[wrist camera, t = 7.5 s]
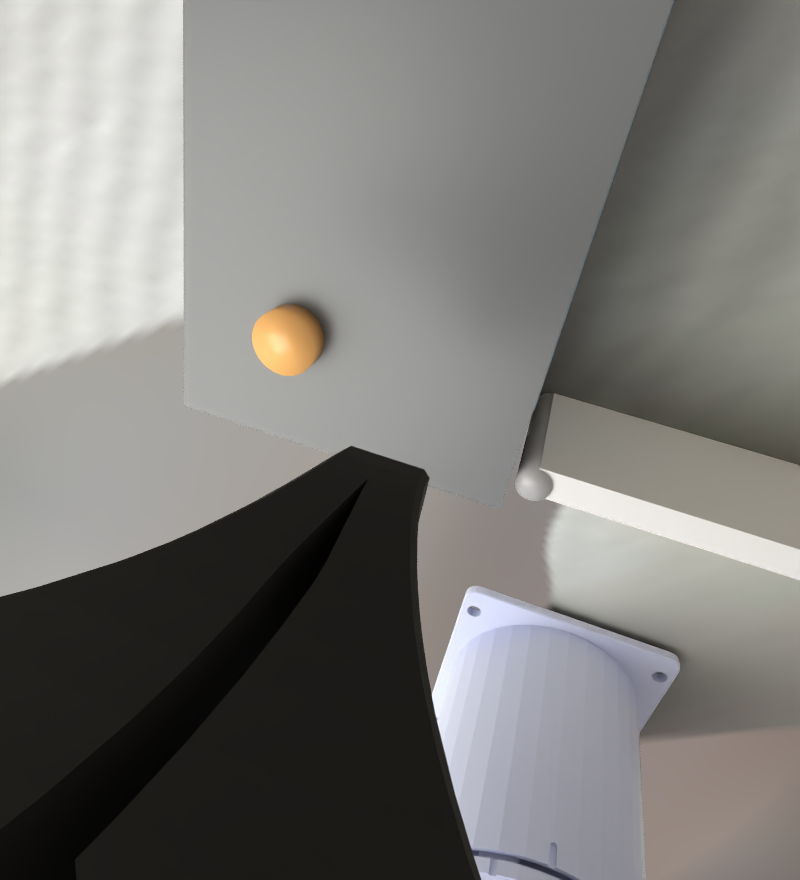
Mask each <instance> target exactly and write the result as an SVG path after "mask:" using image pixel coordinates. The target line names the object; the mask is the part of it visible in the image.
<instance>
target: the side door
mask: <svg viewBox="0 0 800 880" xmlns="http://www.w3.org/2000/svg"><path fill="white" fill-rule="evenodd" d="M515 486H516V489H517V491H518V493H519V494H520V495H521V496H522V497H524V498H525V499H528V500H532V501H539V500H543V499H548V500H551V501H554V502H557V503H560V504H563V505H566V506H569V507H573V508H576V509H579V510H582V511H585V512H588V513H591V514H594V515H598V516H601V517H604V518H607V519H610V520H613V521H616V522H619V523H622V524H626V525H629V526H632V527H635V528H638V529H641V530H644V531H647V532H651V533H654V534H657V535H660V536H663V537H666V538H669V539H672V540H675V541H679V542H682V543H685V544H688V545H691V546H694V547H697V548H700V549H704V550H707V551H710V552H713V553H716V554H719V555H722V556H725V557H728V558H732V559H735V560H738V561H741V562H744V563H747V564H750V565H753V566H757V567H760V568H763V569H766V570H769V571H772V572H775V573H778V574H781V575H785V576H788V577H791V578H794V579H797V580H800V465H797V464H793V463H790V462H787V461H783V460H780V459H776V458H773V457H770V456H766V455H763V454H759V453H756V452H753V451H749V450H746V449H742V448H739V447H736V446H732V445H729V444H725V443H722V442H719V441H715V440H712V439H708V438H705V437H702V436H698V435H695V434H691V433H688V432H685V431H681V430H678V429H674V428H671V427H668V426H664V425H661V424H657V423H654V422H651V421H647V420H644V419H640V418H637V417H634V416H630V415H627V414H623V413H620V412H616V411H613V410H610V409H606V408H603V407H599V406H596V405H593V404H589V403H586V402H582V401H579V400H576V399H572V398H569V397H565V396H562V395H559V394H555V393H554V394H552V393H546V394H542V395H540V396H539V399H538V402H537V405H536V407H535V410H533V413H532V416H531V420H530V424H529V428H528V432H527V437H526V441H525V445H524V449H523V453H522V458H521V461H520V465H519V470H518V473H517V478H516V482H515Z"/></svg>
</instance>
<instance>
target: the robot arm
mask: <svg viewBox="0 0 800 880" xmlns="http://www.w3.org/2000/svg"><path fill="white" fill-rule="evenodd" d="M429 479H430V478H429V476H428V474H427V473H426V471H425V469H422V468H419V467H416V466H412V465H409V464H406V463H403V462H400V461H397V460H394V459H391V458H388V457H384V456H381V455H378V454H375V453H372V452H369V451H366V450H363V449H360V448H356V447H353V446H350V447H348V448H346V449H344V450H342V451H340V452H339V453H337V454H335V455H334V456H332V457H330V458H329V459H327V460H325V461H324V462H322V463H320V464H319V465H317V466H316V467H314V468H312V469H311V470H309V471H307V472H306V473H304V474H302V475H300V476H299V477H297V478H295V479H294V480H292V481H290V482H289V483H287V484H285V485H283V486H282V487H280V488H278V489H276V490H274V491H273V492H271V493H269V494H267V495H265V496H264V497H262V498H260V499H258V500H257V501H255V502H253V503H251V504H249V505H247V506H245V507H243V508H241V509H239V510H237V511H236V512H233V513H231V514H229V515H227V516H225V517H223V518H221V519H219V520H217V521H215V522H213V523H211V524H209V525H207V526H204V527H203V528H200V529H198V530H196V531H194V532H192V533H189V534H187V535H185V536H183V537H180V538H178V539H176V540H174V541H171V542H169V543H166V544H164V545H161V546H158V547H156V548H153V549H151V550H148V551H145V552H143V553H140V554H138V555H135V556H133V557H130V558H127V559H124V560H122V561H118V562H116V563H113V564H109V565H106V566H103V567H100V568H97V569H93V570H90V571H87V572H84V573H81V574H78V575H75V576H72V577H68V578H65V579H62V580H59V581H56V582H52V583H49V584H46V585H43V586H40V587H36V588H33V589H29V590H25V591H21V592H17V593H13V594H10V595H6V596H2V597H0V880H646V879H645V856H644V834H643V811H642V788H641V766H640V742H639V733H640V732H641V730H642V729H643V727H644V725H645V724H646V722H647V721H648V719H649V718H650V716H651V715H652V713H653V712H654V710H655V709H656V707H657V706H658V704H659V702H660V701H661V699H662V698H663V696H664V695H665V693H666V692H667V690H668V689H669V687H670V686H671V684H672V683H673V681H674V680H675V678H676V676H677V675H678V673H679V671H680V662H679V659H678V657H677V656H676V655H675V654H673V653H671V652H669V651H666V650H663V649H660V648H657V647H654V646H651V645H648V644H646V643H643V642H640V641H637V640H634V639H631V638H628V637H625V636H623V635H620V634H617V633H614V632H611V631H608V630H605V629H602V628H600V627H597V626H594V625H591V624H588V623H585V622H582V621H579V620H577V619H574V618H571V617H568V616H565V615H562V614H559V613H557V612H554V611H551V610H548V609H545V608H542V607H539V606H536V605H533V604H531V603H527V602H524V601H522V600H519V599H516V598H513V597H510V596H508V595H505V594H502V593H499V592H496V591H493V590H490V589H487V588H485V587H481V586H472V587H470V588H469V589H468V590H467V591H466V594H465V597H464V600H463V603H462V606H461V609H460V612H459V615H458V618H457V621H456V624H455V627H454V630H453V633H452V636H451V639H450V642H449V645H448V648H447V651H446V654H445V657H444V660H443V663H442V666H441V669H440V672H439V675H438V678H437V681H436V684H435V687H434V690H433V693H432V694H431V689H430V683H429V679H428V672H427V666H426V659H425V653H424V646H423V639H422V631H421V622H420V612H419V598H418V581H417V534H418V522H419V518H420V514H421V510H422V506H423V502H424V498H425V494H426V490H427V486H428V482H429ZM471 606H476V607H478V608H479V609H478V610H477V609H473V608H472V607H471ZM655 672H662V673H663V674H657V673H655Z"/></svg>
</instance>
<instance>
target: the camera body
mask: <svg viewBox="0 0 800 880" xmlns="http://www.w3.org/2000/svg"><path fill="white" fill-rule="evenodd" d="M674 1H675V0H183V135H184V406H185V407H188V408H191V409H195V410H197V411H200V412H203V413H207V414H209V415H213V416H216V417H219V418H222V419H225V420H228V421H231V422H234V423H237V424H240V425H243V426H246V427H249V428H253V429H256V430H259V431H262V432H265V433H268V434H271V435H274V436H277V437H280V438H283V439H286V440H289V441H292V442H295V443H298V444H301V445H305V446H308V447H311V448H313V449H316V450H320V451H323V452H326V453H329V454H332V455H335V454H337V453H339V452H340V451H342V450H344V449H346V448H348V447H350V446H353V447H356V448H360V449H363V450H366V451H369V452H372V453H375V454H378V455H381V456H384V457H388V458H391V459H394V460H397V461H400V462H403V463H406V464H409V465H412V466H416V467H419V468H422V469H425V471H426V473H427V474H428V476H429V478H430V479H429V482H428V486H430V487H433V488H436V489H439V490H442V491H445V492H448V493H451V494H454V495H457V496H460V497H463V498H466V499H469V500H473V501H476V502H479V503H482V504H485V505H488V506H491V507H494V508H497V509H500V507H501V504H502V501H503V498H504V495H505V492H506V489H507V486H508V483H509V480H510V478H511V475H512V471H513V469H514V466H515V463H516V460H517V457H518V454H519V451H520V448H521V445H522V442H523V439H524V436H525V434H526V431H527V428H528V425H529V422H530V419H531V416H532V413H533V410H535V407H536V405H537V402H538V399H539V396H540V393H541V390H542V387H543V384H544V381H545V378H546V375H547V372H548V369H549V367H550V364H551V361H552V358H553V355H554V352H555V349H556V346H557V343H558V340H559V337H560V334H561V331H562V329H563V326H564V323H565V320H566V317H567V314H568V311H569V308H570V305H571V302H572V299H573V296H574V294H575V291H576V288H577V285H578V282H579V279H580V276H581V273H582V270H583V267H584V264H585V261H586V258H587V256H588V253H589V250H590V247H591V244H592V241H593V238H594V235H595V232H596V229H597V226H598V223H599V220H600V218H601V215H602V212H603V209H604V206H605V203H606V200H607V197H608V194H609V191H610V188H611V185H612V182H613V180H614V177H615V174H616V171H617V168H618V165H619V162H620V159H621V156H622V153H623V150H624V147H625V144H626V142H627V139H628V136H629V133H630V130H631V127H632V124H633V121H634V118H635V115H636V112H637V109H638V106H639V104H640V101H641V98H642V95H643V92H644V89H645V86H646V83H647V80H648V77H649V74H650V71H651V69H652V66H653V63H654V60H655V57H656V54H657V51H658V48H659V45H660V42H661V39H662V36H663V33H664V31H665V28H666V25H667V22H668V19H669V16H670V13H671V10H672V7H673V4H674Z"/></svg>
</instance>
